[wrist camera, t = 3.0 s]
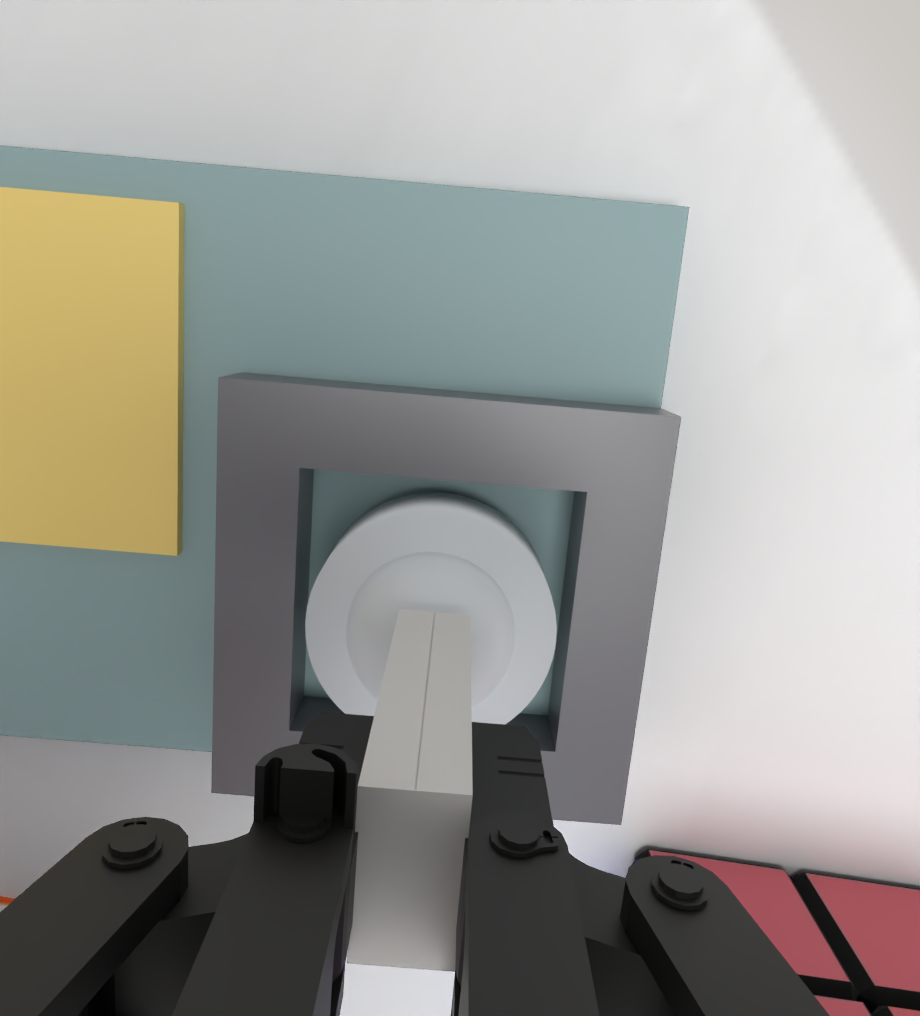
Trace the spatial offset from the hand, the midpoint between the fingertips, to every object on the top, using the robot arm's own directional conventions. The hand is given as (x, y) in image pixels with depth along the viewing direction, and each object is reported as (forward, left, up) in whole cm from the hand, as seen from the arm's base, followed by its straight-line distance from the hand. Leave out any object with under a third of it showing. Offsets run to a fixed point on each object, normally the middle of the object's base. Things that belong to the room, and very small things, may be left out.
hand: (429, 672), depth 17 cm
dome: (0, 0, -4) cm, 4 cm away
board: (-6, +2, -6) cm, 9 cm away
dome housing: (0, 0, -6) cm, 6 cm away
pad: (-12, +5, -6) cm, 14 cm away
